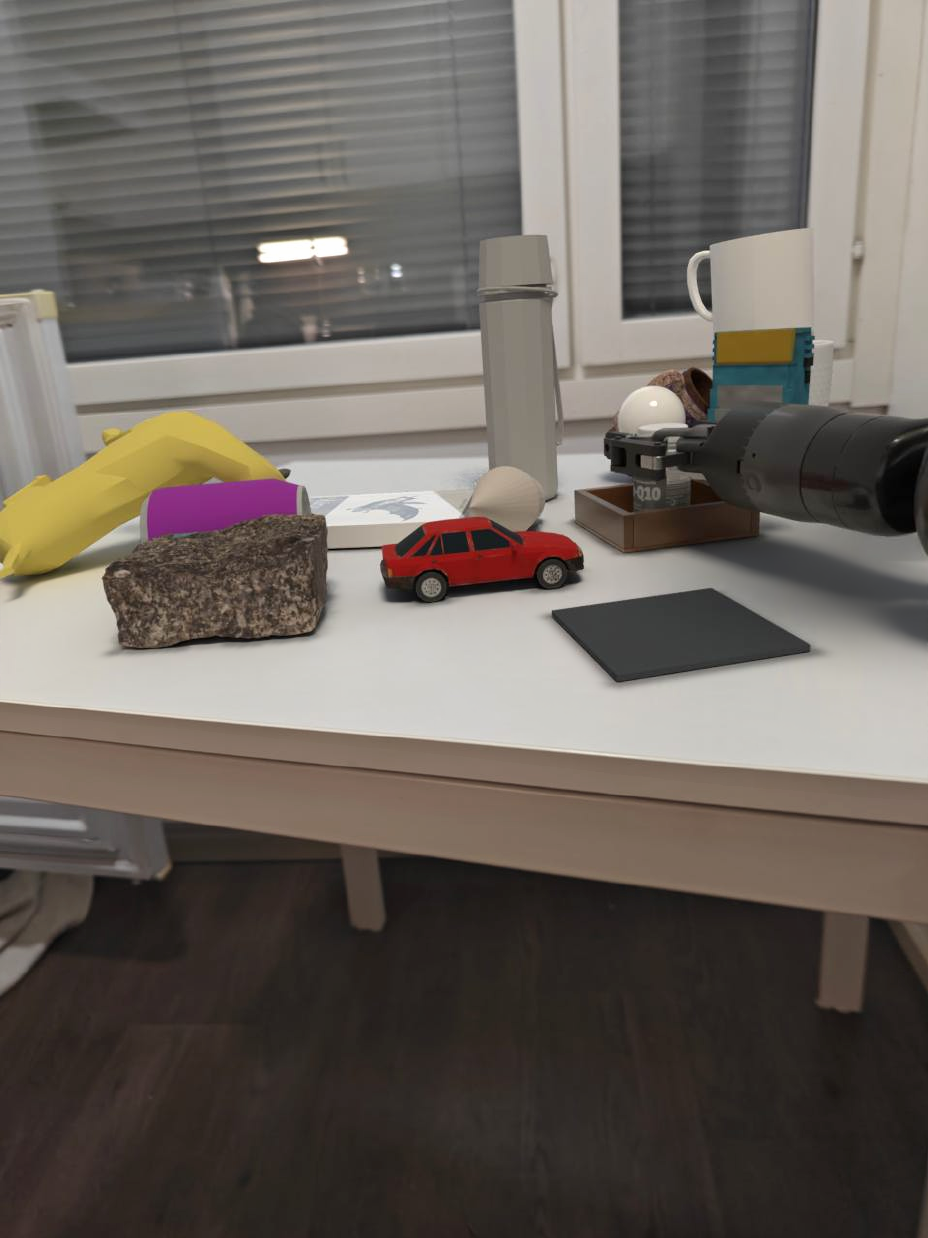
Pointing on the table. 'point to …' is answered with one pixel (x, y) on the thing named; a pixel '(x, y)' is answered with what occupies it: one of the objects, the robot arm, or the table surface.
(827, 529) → the table surface
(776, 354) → the teal upright box
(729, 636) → the mat
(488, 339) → the water bottle
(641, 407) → the lightbulb
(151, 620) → the stone
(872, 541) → the table surface
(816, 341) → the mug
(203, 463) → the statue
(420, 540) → the toy car
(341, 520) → the book
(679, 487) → the pill bottle
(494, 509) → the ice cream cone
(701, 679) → the table surface
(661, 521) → the wooden tray
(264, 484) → the beverage can
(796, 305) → the mug
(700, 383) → the mug
